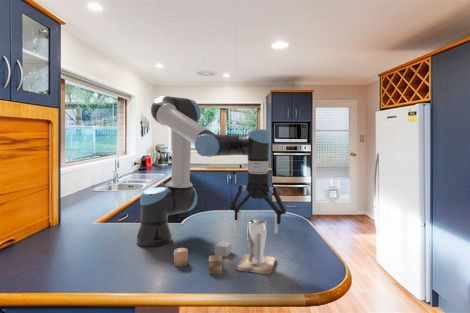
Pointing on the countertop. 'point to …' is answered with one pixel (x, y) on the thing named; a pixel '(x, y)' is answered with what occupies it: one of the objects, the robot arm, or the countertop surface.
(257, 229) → the silver metal cup
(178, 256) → the peach rounded capsule
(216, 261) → the oak cube
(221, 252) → the grey plastic box
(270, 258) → the beech board
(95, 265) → the countertop surface
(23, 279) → the countertop surface
